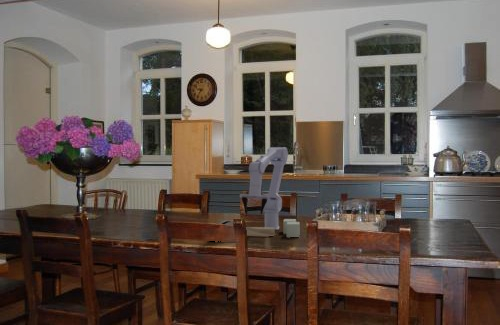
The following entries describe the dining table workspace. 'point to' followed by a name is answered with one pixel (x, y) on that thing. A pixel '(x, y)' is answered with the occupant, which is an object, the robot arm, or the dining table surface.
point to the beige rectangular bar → (260, 231)
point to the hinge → (226, 222)
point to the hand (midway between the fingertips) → (253, 213)
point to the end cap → (293, 229)
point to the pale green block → (286, 224)
